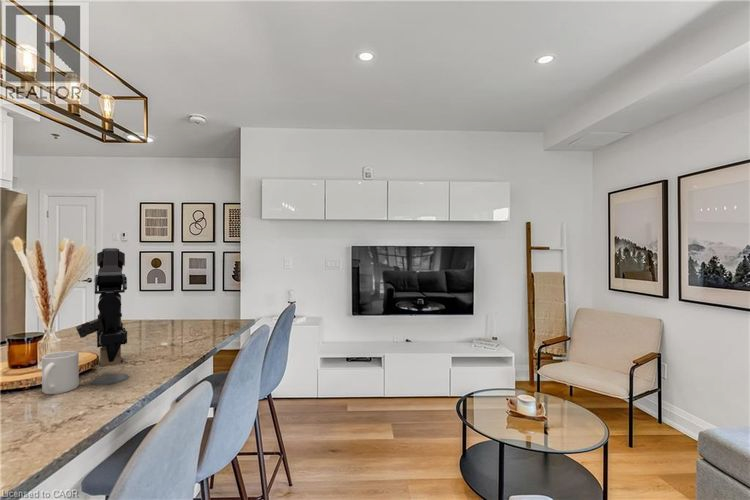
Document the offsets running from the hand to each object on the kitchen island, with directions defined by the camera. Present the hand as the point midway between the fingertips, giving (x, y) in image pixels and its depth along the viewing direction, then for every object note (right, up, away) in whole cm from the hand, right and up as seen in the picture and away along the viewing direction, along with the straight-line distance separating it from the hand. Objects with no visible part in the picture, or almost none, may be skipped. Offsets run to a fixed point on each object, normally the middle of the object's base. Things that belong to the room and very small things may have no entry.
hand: (110, 359), depth 121 cm
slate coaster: (0, -6, 0) cm, 6 cm away
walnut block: (0, -1, 0) cm, 1 cm away
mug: (-8, -7, -11) cm, 15 cm away
